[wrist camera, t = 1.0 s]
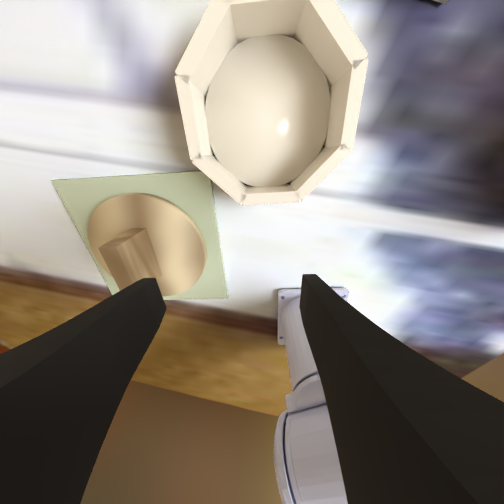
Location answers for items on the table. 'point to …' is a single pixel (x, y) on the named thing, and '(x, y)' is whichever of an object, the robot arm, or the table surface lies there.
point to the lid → (147, 242)
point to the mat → (165, 186)
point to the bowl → (271, 96)
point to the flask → (441, 1)
